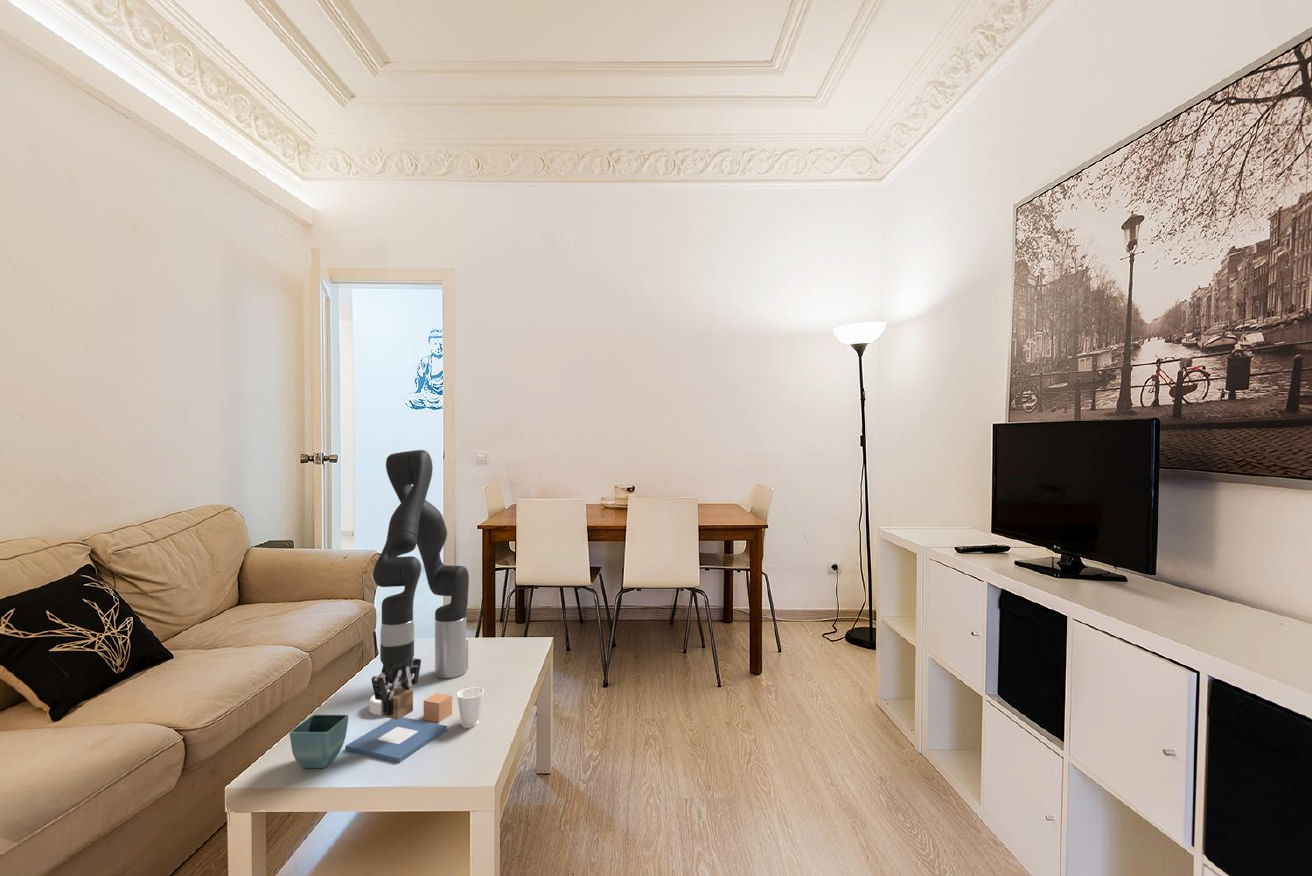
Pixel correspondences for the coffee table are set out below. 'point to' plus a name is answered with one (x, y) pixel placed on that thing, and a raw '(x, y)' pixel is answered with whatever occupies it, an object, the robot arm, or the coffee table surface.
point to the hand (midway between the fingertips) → (397, 709)
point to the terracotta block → (437, 707)
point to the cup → (470, 705)
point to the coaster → (375, 706)
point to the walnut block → (400, 703)
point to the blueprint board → (396, 739)
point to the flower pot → (318, 739)
